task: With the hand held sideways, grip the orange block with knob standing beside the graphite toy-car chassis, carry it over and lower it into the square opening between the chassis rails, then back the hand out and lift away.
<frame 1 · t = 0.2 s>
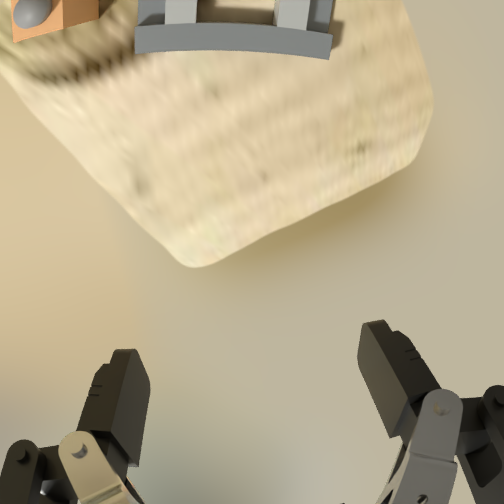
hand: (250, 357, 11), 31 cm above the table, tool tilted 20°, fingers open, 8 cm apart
orange block with knob: (77, 2, 22), on the table
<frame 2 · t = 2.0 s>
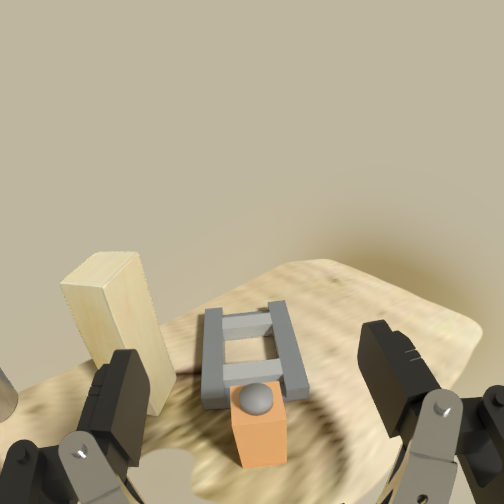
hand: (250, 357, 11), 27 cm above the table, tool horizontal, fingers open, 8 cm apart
chassis: (250, 354, 48), on the table
toy refrigerator: (146, 393, 42), on the table
orange block with knob: (262, 449, 33), on the table
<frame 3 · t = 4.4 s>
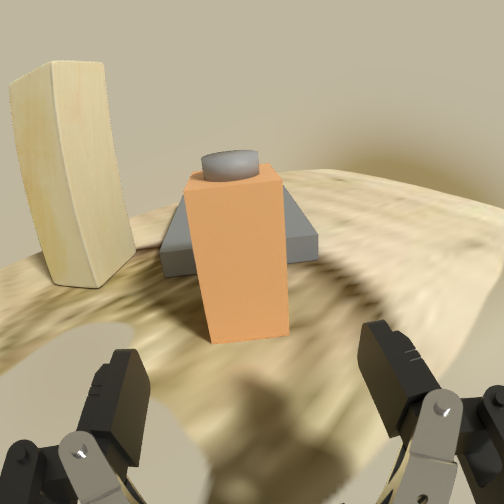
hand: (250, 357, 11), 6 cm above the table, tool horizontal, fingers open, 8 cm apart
chassis: (236, 227, 38), on the table
toy refrigerator: (94, 269, 32), on the table
orange block with knob: (247, 316, 22), on the table
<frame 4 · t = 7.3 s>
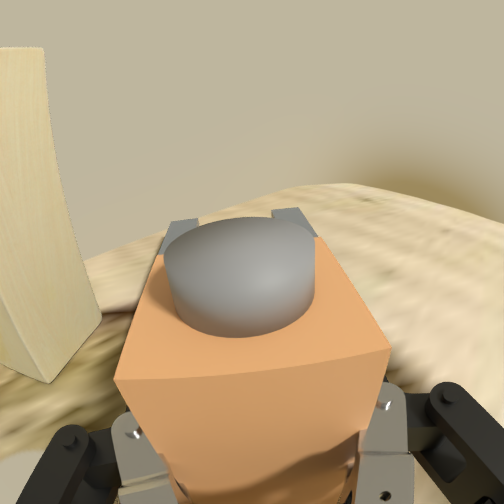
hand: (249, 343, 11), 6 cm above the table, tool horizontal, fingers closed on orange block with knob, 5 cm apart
chassis: (241, 281, 27), on the table
toy refrigerator: (48, 343, 21), on the table
orange block with knob: (266, 473, 12), on the table, touching gripper
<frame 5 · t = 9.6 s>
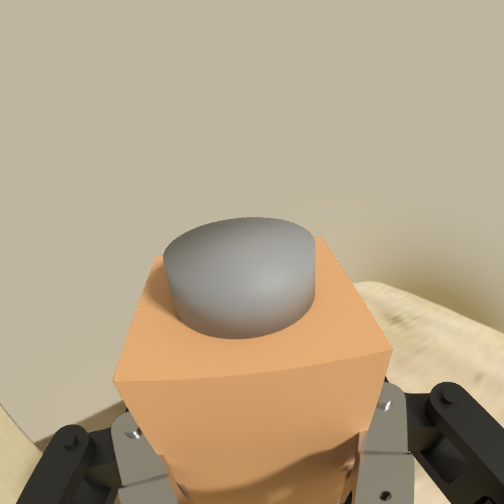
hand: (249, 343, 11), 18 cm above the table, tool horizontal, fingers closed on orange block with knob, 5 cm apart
orange block with knob: (266, 474, 12), point 12 cm above the table, touching gripper
when the fingers open (7 cm above the table, at t = 12.4 s): orange block with knob drops 1 cm, resting in chassis.
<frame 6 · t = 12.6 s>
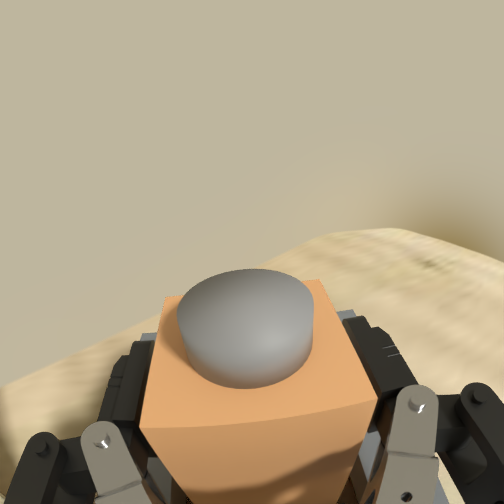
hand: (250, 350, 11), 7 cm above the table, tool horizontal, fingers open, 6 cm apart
chassis: (267, 485, 12), on the table
orange block with knob: (267, 485, 12), resting in chassis
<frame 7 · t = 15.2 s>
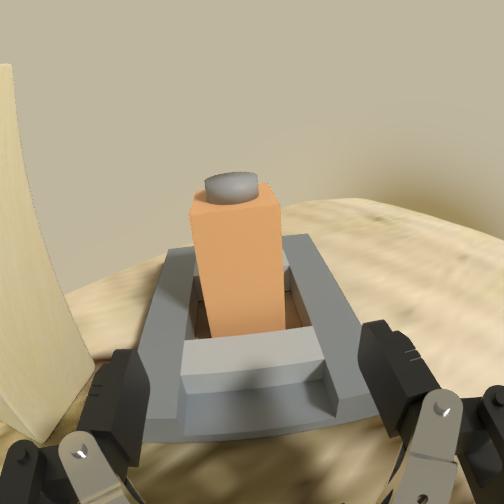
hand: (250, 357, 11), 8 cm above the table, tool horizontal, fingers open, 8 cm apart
chassis: (247, 325, 24), on the table
toy refrigerator: (40, 392, 18), on the table
orange block with knob: (247, 325, 24), resting in chassis
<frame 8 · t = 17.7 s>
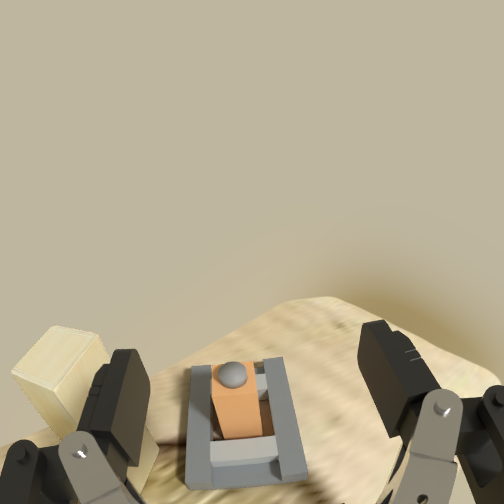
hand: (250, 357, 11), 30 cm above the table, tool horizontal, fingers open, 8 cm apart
chassis: (242, 424, 39), on the table
toy refrigerator: (127, 464, 33), on the table
orange block with knob: (242, 424, 39), resting in chassis
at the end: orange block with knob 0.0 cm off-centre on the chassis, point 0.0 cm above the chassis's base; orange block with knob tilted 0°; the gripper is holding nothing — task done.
